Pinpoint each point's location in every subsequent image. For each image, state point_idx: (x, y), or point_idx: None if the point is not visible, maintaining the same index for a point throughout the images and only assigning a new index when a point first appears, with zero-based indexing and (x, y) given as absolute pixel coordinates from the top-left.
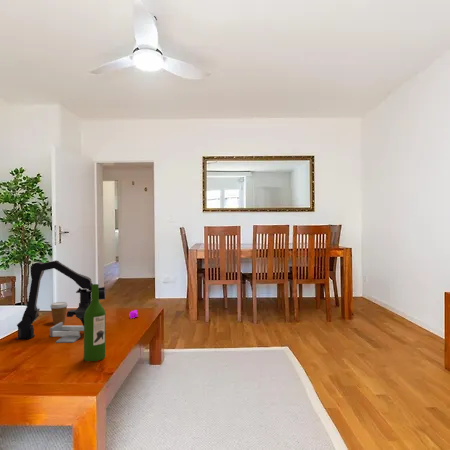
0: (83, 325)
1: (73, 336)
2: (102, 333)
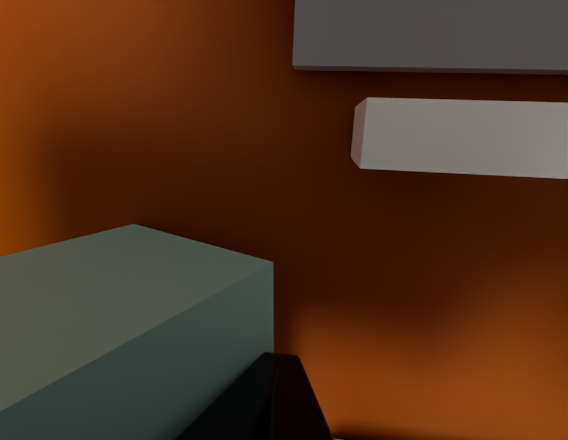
0: (315, 421)
1: (466, 13)
2: None
